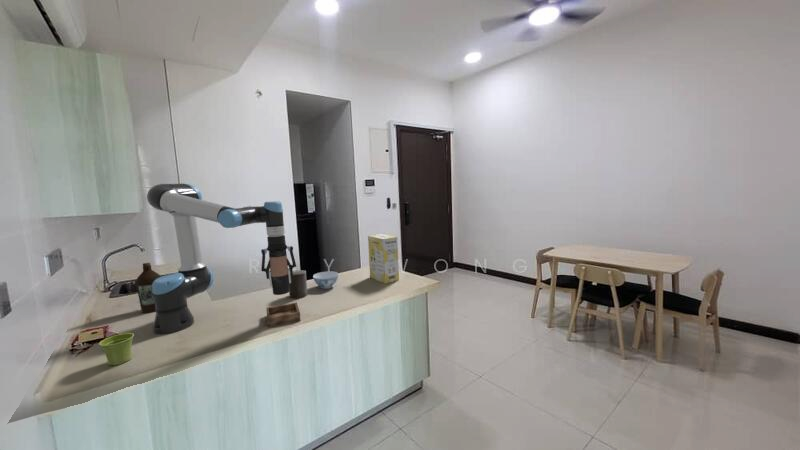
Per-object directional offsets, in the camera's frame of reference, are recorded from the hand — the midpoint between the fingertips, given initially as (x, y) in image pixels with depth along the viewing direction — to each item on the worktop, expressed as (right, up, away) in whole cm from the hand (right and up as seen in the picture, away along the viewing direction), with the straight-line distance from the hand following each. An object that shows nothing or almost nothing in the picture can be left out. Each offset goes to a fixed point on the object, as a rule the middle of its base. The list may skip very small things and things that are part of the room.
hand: (280, 283), depth 145 cm
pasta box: (+45, -8, +58) cm, 74 cm away
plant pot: (-47, -23, -30) cm, 61 cm away
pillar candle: (-2, -13, +32) cm, 35 cm away
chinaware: (+11, -11, +46) cm, 48 cm away
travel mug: (0, -4, 0) cm, 4 cm away
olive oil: (-75, -18, +19) cm, 79 cm away
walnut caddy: (+1, -17, +2) cm, 17 cm away
